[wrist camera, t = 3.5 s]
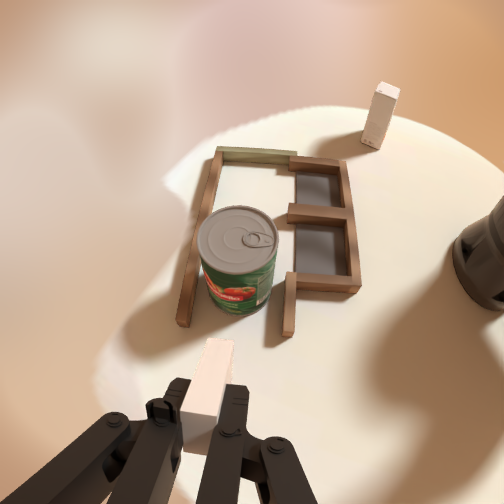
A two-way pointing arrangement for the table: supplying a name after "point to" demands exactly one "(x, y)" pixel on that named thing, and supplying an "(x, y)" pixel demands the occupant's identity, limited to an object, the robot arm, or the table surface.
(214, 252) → the canned tomato
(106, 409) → the table surface
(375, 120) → the skincare box
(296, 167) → the wooden rail frame
